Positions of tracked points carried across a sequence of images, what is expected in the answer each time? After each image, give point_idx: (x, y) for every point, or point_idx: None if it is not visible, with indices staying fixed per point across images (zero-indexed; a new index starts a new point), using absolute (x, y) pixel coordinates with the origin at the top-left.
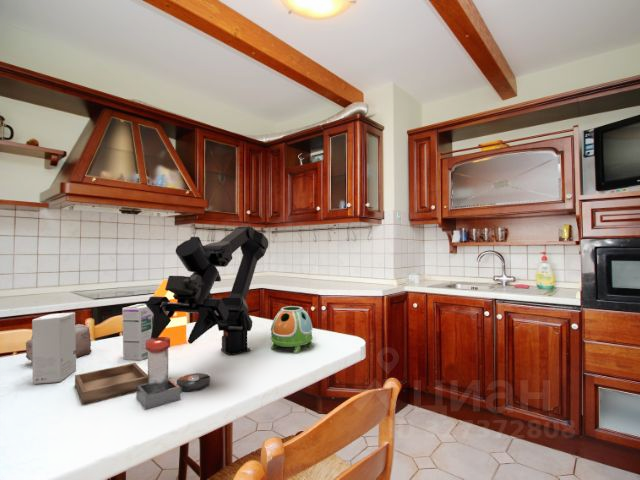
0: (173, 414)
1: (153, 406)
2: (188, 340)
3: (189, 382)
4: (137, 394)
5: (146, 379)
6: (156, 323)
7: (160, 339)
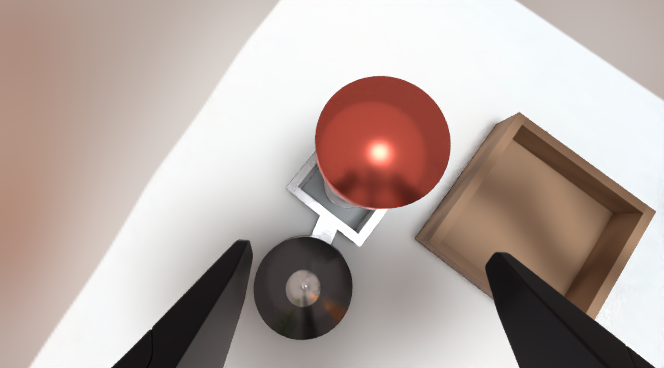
0: (262, 120)
1: None
2: (244, 241)
3: (300, 259)
4: None
5: (430, 234)
6: (598, 349)
7: (377, 153)
